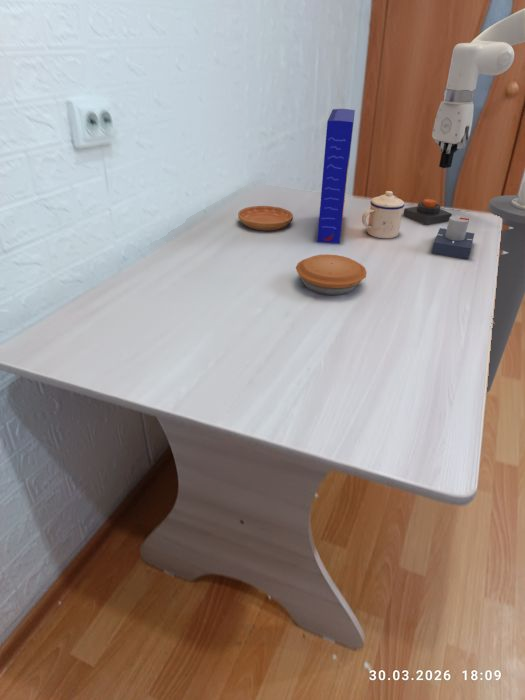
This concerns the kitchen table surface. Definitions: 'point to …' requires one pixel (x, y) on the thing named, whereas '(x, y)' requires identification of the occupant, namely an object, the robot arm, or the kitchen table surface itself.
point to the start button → (429, 203)
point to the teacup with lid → (384, 216)
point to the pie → (330, 274)
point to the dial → (457, 228)
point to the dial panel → (452, 245)
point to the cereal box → (335, 174)
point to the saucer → (265, 217)
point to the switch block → (427, 214)
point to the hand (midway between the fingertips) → (444, 166)
